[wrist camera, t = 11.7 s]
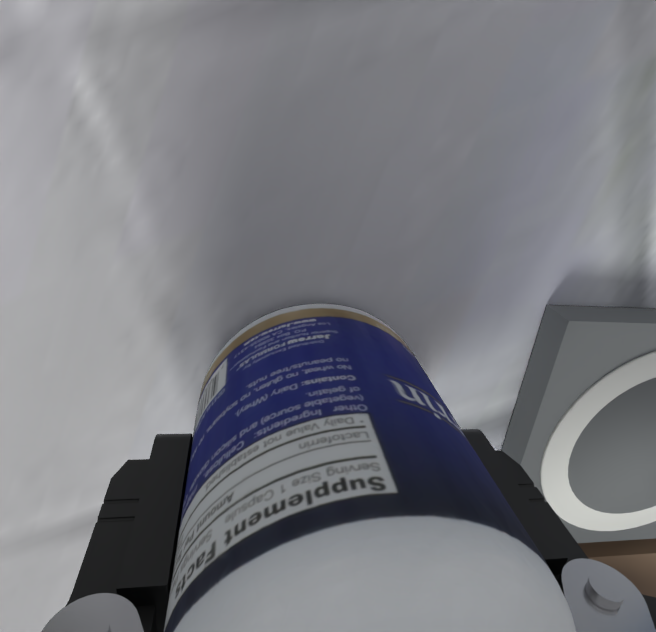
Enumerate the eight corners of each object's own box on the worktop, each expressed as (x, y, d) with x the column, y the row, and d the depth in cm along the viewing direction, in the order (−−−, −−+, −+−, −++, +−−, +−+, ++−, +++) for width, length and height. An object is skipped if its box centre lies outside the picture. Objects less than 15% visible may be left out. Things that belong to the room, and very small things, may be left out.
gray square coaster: (682, 512, 18) (709, 538, 17) (478, 522, 16) (493, 552, 15) (790, 313, 14) (831, 330, 13) (546, 304, 13) (571, 323, 12)
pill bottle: (443, 424, 14) (793, 1017, 5) (266, 507, 14) (300, 1204, 5) (367, 253, 11) (799, 843, 2) (154, 359, 12) (-137, 1218, 3)
